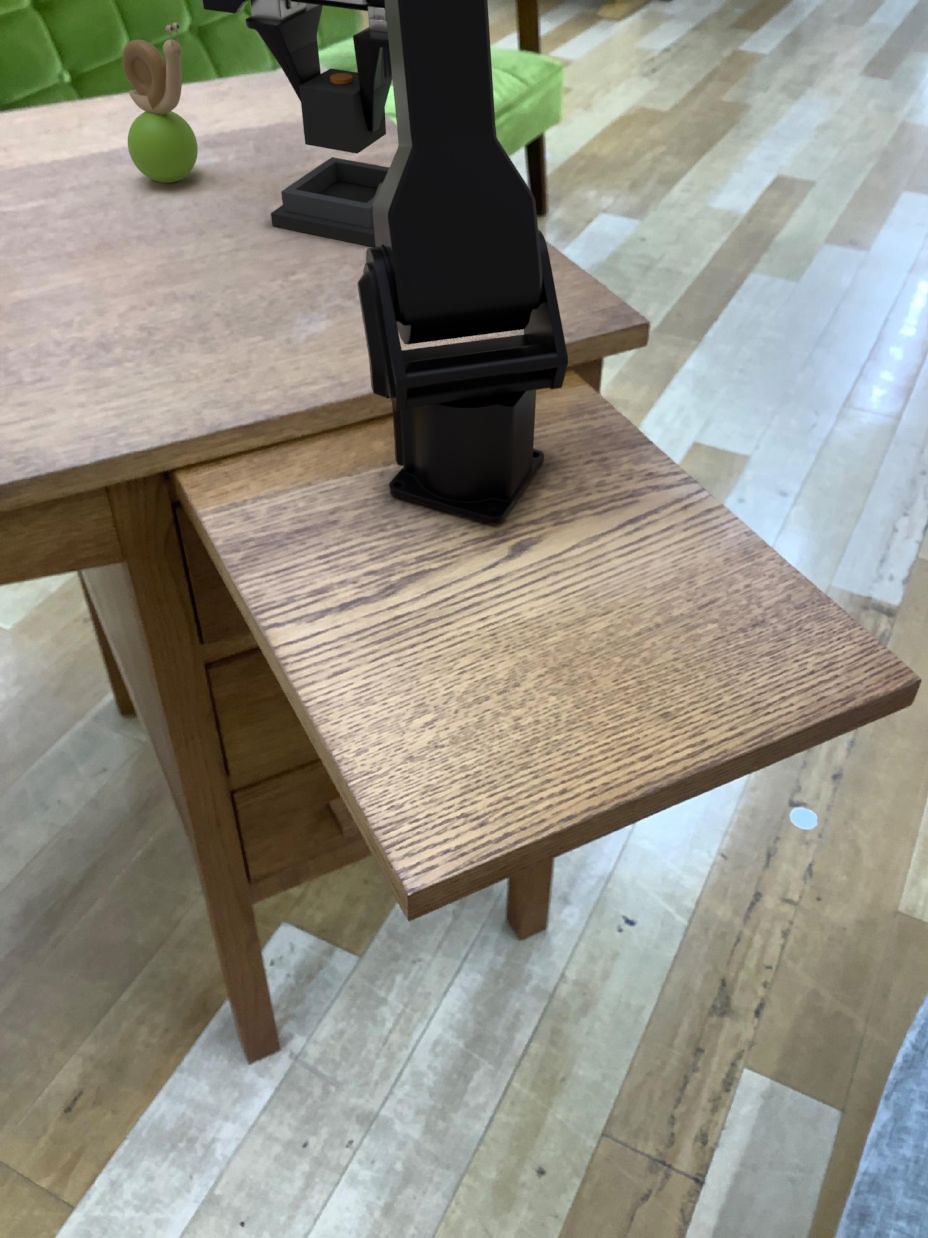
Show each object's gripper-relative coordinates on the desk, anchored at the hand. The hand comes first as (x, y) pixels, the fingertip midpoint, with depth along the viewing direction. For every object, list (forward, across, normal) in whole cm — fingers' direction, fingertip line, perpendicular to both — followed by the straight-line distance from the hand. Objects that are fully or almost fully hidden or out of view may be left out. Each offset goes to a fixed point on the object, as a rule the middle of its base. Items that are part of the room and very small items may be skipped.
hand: (345, 125), depth 76 cm
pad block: (+1, 0, 0) cm, 1 cm away
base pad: (+7, 0, 0) cm, 7 cm away
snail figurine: (+7, +16, 0) cm, 18 cm away
